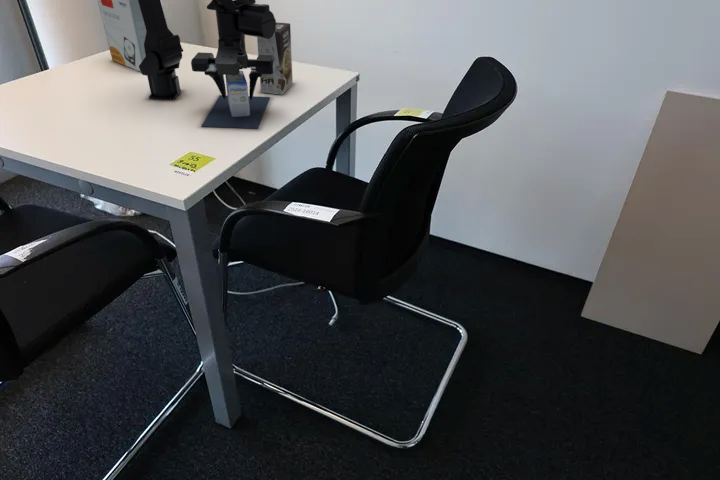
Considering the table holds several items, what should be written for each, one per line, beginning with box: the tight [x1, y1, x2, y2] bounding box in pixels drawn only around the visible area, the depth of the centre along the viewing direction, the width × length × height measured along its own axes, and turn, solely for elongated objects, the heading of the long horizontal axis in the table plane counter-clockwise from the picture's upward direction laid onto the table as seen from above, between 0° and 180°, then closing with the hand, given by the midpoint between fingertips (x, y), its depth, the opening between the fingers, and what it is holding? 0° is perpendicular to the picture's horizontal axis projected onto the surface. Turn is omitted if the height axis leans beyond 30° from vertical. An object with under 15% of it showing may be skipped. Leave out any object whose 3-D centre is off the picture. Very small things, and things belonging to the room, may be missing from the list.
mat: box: [200, 94, 271, 130], centre depth 132 cm, size 13×19×1 cm
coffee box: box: [256, 21, 293, 96], centre depth 141 cm, size 9×6×16 cm
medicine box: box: [225, 70, 250, 117], centre depth 129 cm, size 8×4×9 cm, turn 17°
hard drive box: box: [97, 0, 146, 73], centre depth 152 cm, size 16×8×20 cm, turn 53°
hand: (238, 98), depth 130 cm, fingers open, 6 cm apart
